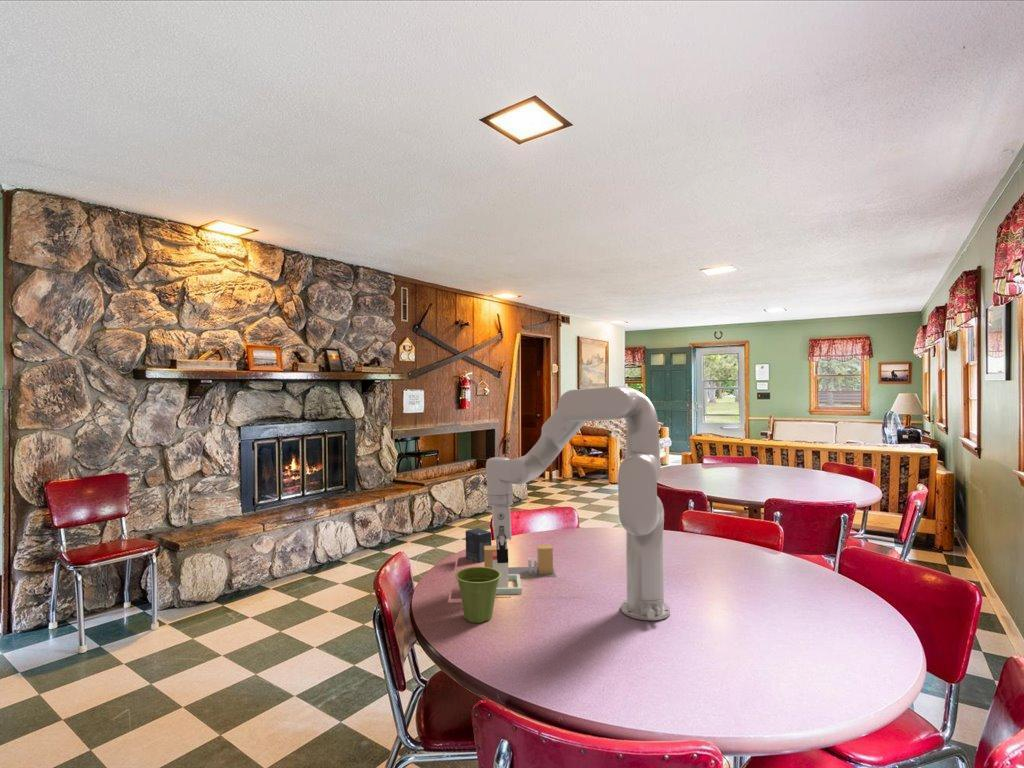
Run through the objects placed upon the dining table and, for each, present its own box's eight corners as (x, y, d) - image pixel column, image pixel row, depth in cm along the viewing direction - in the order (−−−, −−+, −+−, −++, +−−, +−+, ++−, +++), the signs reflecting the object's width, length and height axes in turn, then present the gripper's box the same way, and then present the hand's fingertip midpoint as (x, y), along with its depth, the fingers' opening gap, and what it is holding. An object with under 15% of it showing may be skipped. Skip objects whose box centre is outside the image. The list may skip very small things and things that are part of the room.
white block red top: (508, 590, 155) (508, 555, 155) (492, 590, 155) (492, 556, 155) (507, 584, 160) (507, 551, 160) (492, 585, 160) (492, 551, 160)
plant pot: (460, 630, 131) (459, 584, 131) (452, 611, 142) (452, 569, 143) (506, 624, 134) (506, 579, 134) (495, 606, 145) (495, 564, 146)
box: (491, 562, 183) (491, 531, 183) (478, 566, 179) (478, 534, 179) (478, 557, 189) (478, 527, 189) (465, 560, 185) (465, 530, 186)
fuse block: (556, 580, 165) (556, 550, 165) (482, 581, 164) (481, 552, 164) (552, 569, 175) (552, 541, 175) (482, 571, 174) (482, 543, 174)
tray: (521, 597, 152) (521, 588, 152) (479, 598, 151) (479, 589, 151) (519, 582, 164) (519, 573, 164) (480, 583, 163) (480, 574, 163)
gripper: (514, 504, 149) (516, 566, 149) (511, 493, 167) (513, 548, 166) (487, 505, 149) (489, 567, 148) (487, 494, 166) (489, 550, 166)
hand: (502, 557), depth 157 cm, fingers open, 9 cm apart
